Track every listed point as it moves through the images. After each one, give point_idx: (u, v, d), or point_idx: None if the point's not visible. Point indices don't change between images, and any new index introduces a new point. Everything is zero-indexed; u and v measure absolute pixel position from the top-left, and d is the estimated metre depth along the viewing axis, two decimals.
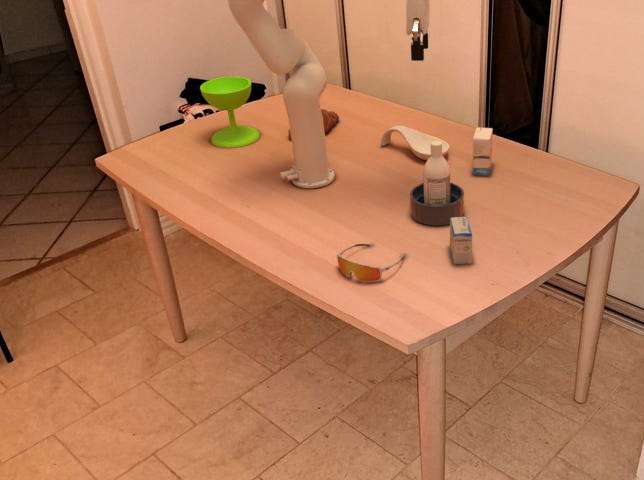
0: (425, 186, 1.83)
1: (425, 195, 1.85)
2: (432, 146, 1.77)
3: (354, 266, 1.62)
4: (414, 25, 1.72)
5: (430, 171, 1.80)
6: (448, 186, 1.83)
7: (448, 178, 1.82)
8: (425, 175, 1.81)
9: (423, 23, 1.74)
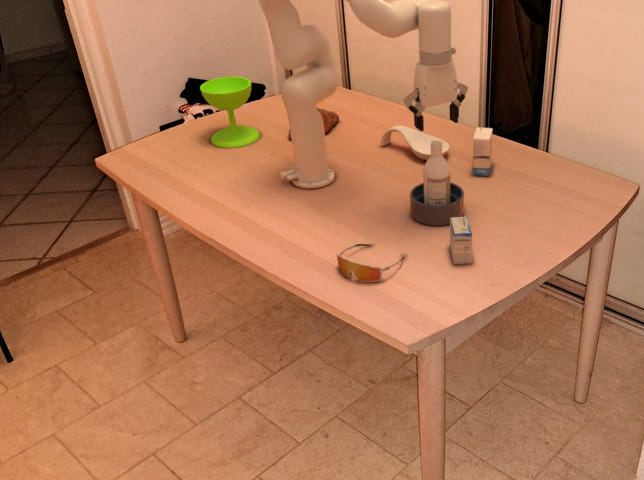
0: (425, 186, 1.83)
1: (425, 195, 1.85)
2: (432, 146, 1.77)
3: (354, 266, 1.62)
4: (410, 94, 1.68)
5: (430, 171, 1.80)
6: (448, 186, 1.83)
7: (448, 178, 1.82)
8: (425, 175, 1.81)
9: (421, 95, 1.67)
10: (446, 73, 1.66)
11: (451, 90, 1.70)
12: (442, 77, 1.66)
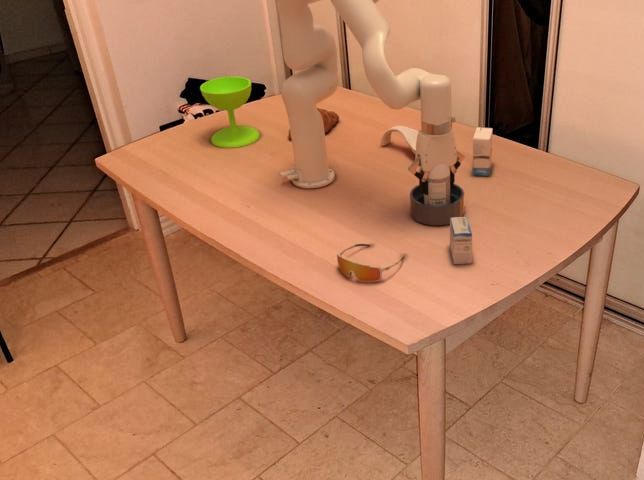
0: None
1: (425, 195, 1.85)
2: None
3: (354, 266, 1.62)
4: (413, 162, 1.78)
5: (430, 171, 1.80)
6: (448, 186, 1.83)
7: (448, 178, 1.82)
8: None
9: (422, 161, 1.77)
10: (446, 141, 1.76)
11: (451, 156, 1.79)
12: (442, 145, 1.76)
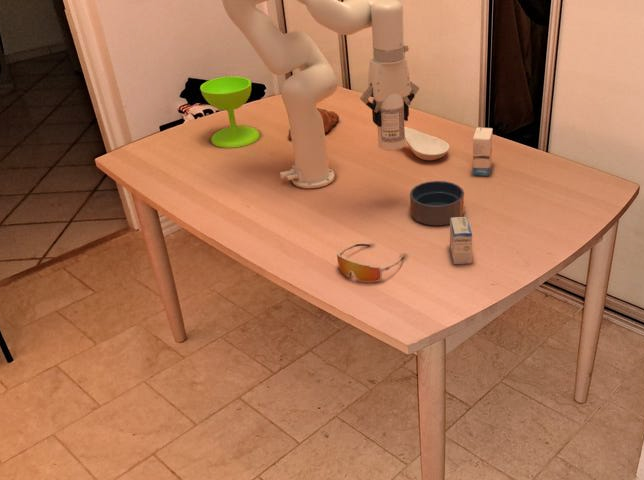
0: None
1: (378, 127, 1.82)
2: None
3: (354, 266, 1.62)
4: (365, 91, 1.75)
5: None
6: (402, 118, 1.80)
7: (401, 109, 1.79)
8: None
9: (374, 90, 1.74)
10: (399, 70, 1.73)
11: (404, 86, 1.77)
12: (395, 73, 1.73)
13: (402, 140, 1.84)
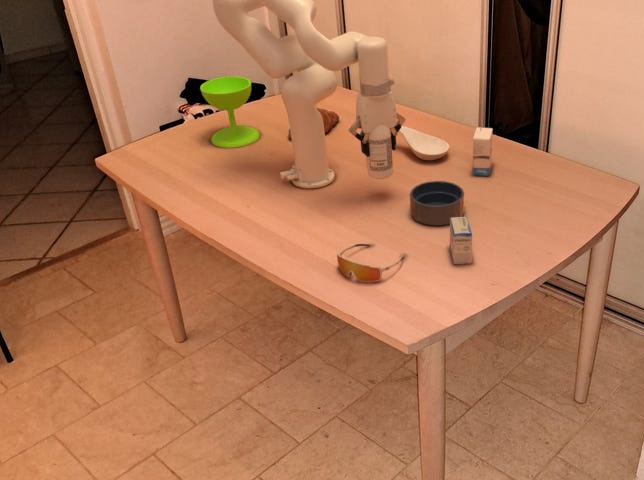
0: None
1: (367, 157, 1.90)
2: None
3: (354, 266, 1.62)
4: (353, 124, 1.83)
5: (370, 133, 1.84)
6: (389, 148, 1.88)
7: (388, 140, 1.86)
8: None
9: (362, 123, 1.82)
10: (385, 103, 1.81)
11: (391, 118, 1.84)
12: (381, 106, 1.81)
13: (390, 169, 1.91)
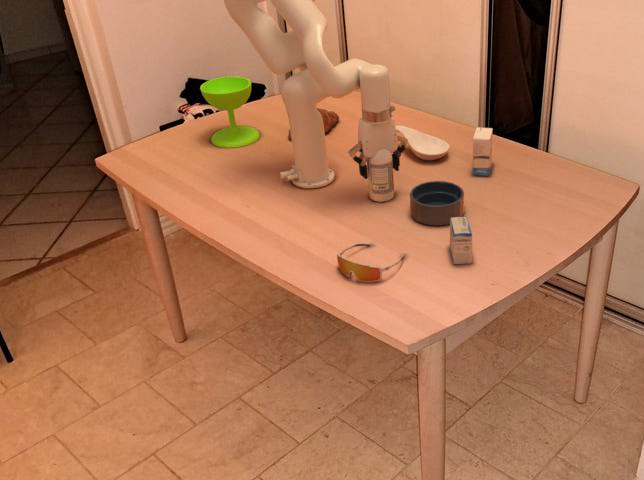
0: (368, 171, 1.92)
1: (369, 180, 1.93)
2: None
3: (354, 266, 1.62)
4: (354, 147, 1.86)
5: (372, 157, 1.88)
6: (390, 171, 1.92)
7: (390, 164, 1.90)
8: (368, 161, 1.90)
9: (364, 148, 1.86)
10: (386, 128, 1.85)
11: (392, 143, 1.88)
12: (382, 132, 1.85)
13: (391, 192, 1.95)
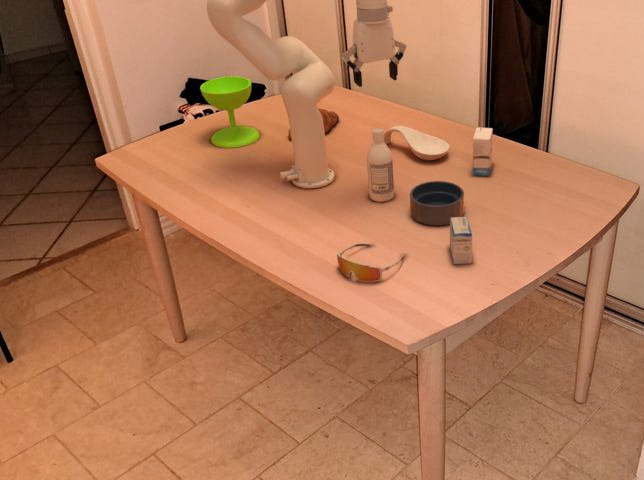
0: (368, 171, 1.92)
1: (369, 180, 1.93)
2: (373, 133, 1.86)
3: (354, 266, 1.62)
4: (348, 50, 1.75)
5: (372, 157, 1.88)
6: (390, 172, 1.92)
7: (390, 164, 1.90)
8: (368, 161, 1.90)
9: (358, 51, 1.74)
10: (382, 30, 1.73)
11: (388, 48, 1.76)
12: (379, 34, 1.73)
13: (391, 192, 1.95)
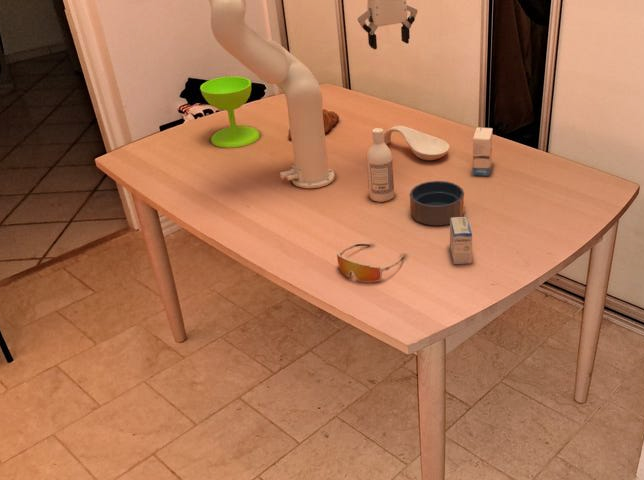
0: (368, 171, 1.92)
1: (369, 180, 1.93)
2: (373, 133, 1.86)
3: (354, 266, 1.62)
4: (363, 14, 1.86)
5: (372, 157, 1.88)
6: (390, 172, 1.92)
7: (390, 164, 1.90)
8: (368, 161, 1.90)
9: (373, 14, 1.86)
10: None
11: (401, 11, 1.88)
12: None
13: (391, 192, 1.95)
